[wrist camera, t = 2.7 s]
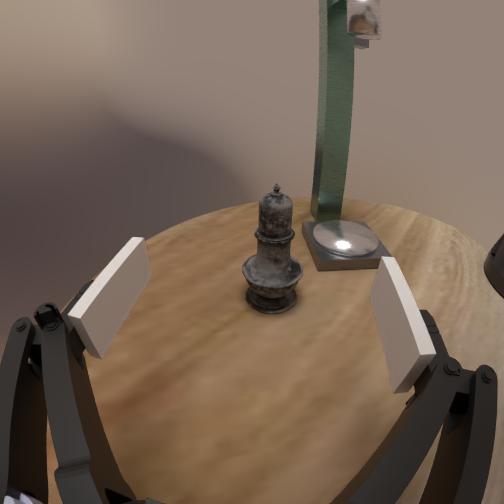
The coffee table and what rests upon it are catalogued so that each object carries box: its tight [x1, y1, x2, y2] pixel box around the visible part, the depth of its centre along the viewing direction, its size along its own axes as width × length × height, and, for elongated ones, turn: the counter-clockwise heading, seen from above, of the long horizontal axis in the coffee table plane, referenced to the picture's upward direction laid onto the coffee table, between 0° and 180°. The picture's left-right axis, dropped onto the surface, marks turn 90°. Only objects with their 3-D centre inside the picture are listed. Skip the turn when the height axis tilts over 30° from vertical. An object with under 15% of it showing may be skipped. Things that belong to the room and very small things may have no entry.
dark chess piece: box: [242, 184, 303, 314], centre depth 26 cm, size 6×6×12 cm
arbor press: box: [302, 0, 392, 271], centre depth 28 cm, size 10×17×46 cm, turn 3°
